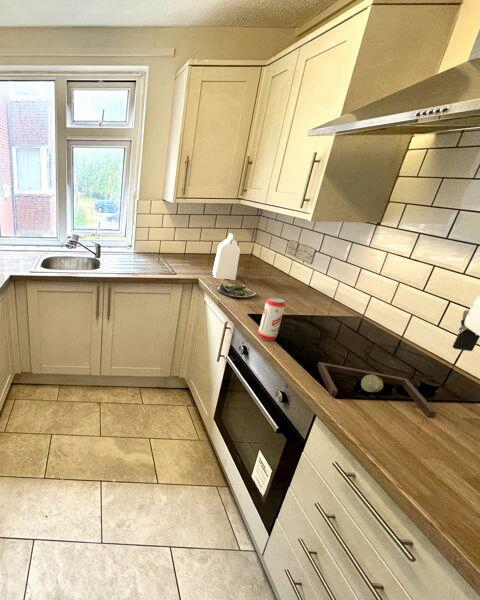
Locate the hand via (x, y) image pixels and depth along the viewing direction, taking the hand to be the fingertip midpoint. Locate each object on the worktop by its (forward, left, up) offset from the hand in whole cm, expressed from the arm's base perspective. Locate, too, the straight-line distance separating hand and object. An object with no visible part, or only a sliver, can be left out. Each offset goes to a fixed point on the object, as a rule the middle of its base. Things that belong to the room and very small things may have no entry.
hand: (475, 359), depth 69 cm
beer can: (+33, -39, -22) cm, 55 cm away
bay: (+8, -15, -22) cm, 27 cm away
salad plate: (+43, -87, -22) cm, 99 cm away
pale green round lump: (+8, -15, -22) cm, 28 cm away
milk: (+49, -116, -22) cm, 127 cm away
